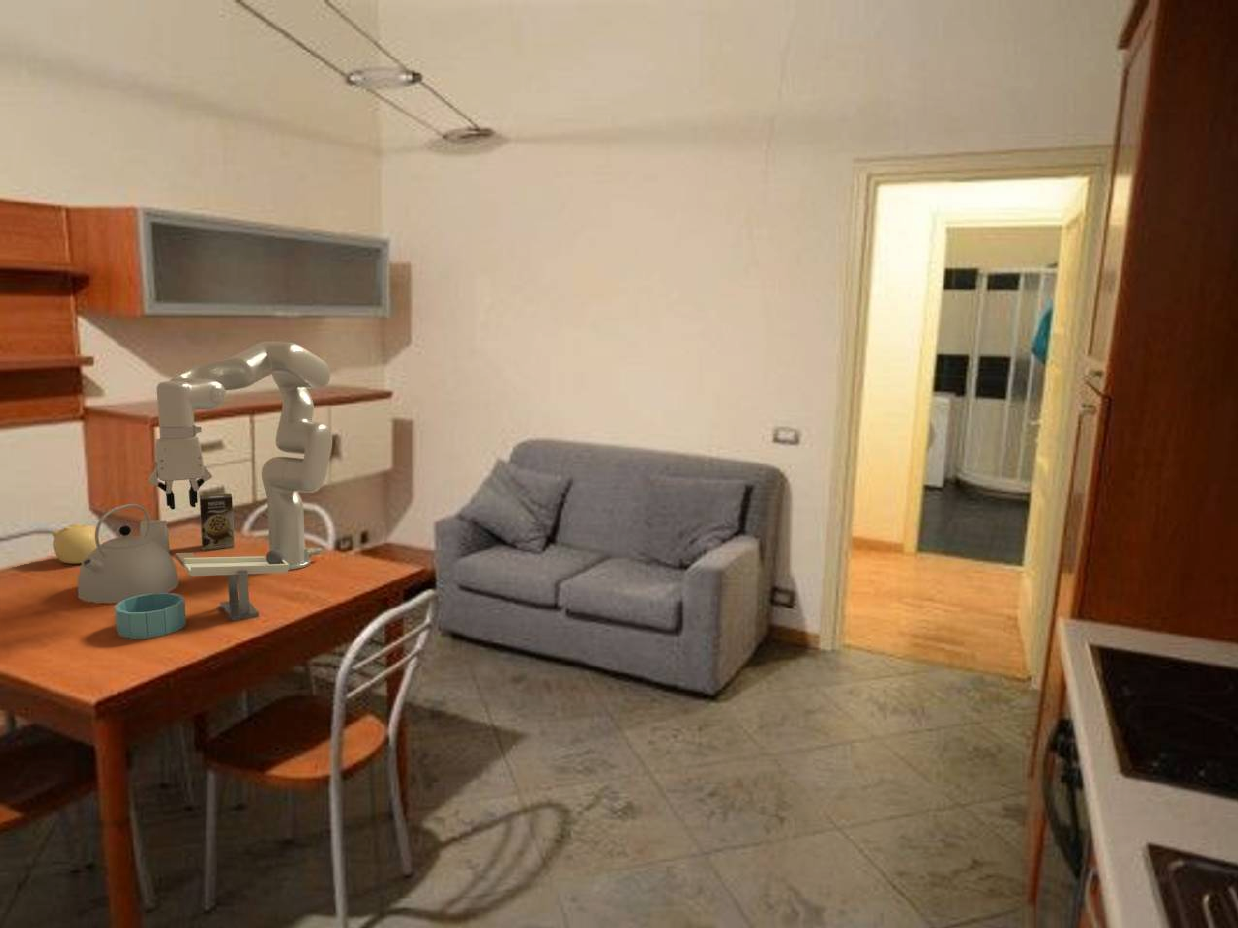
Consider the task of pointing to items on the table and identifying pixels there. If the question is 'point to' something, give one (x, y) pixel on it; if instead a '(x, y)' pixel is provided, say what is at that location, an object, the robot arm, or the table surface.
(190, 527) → the table surface
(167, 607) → the teal round bowl
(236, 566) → the lever
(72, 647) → the table surface
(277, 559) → the ball
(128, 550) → the kettle
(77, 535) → the yellow rounded piece
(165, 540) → the tea bag
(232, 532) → the dark cardboard box
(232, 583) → the lever stand
